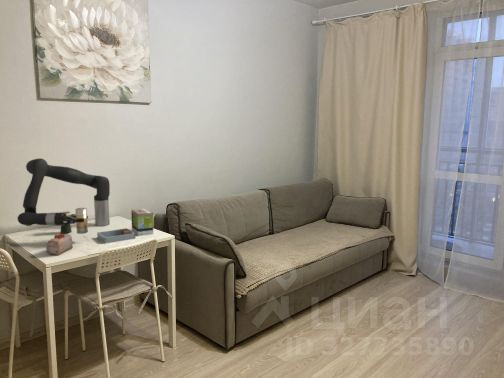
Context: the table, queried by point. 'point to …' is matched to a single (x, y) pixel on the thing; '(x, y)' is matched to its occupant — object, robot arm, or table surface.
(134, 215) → the tea box
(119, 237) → the tote
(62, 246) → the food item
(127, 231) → the walnut block
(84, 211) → the tin can
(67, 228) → the character mug
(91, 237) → the table surface
